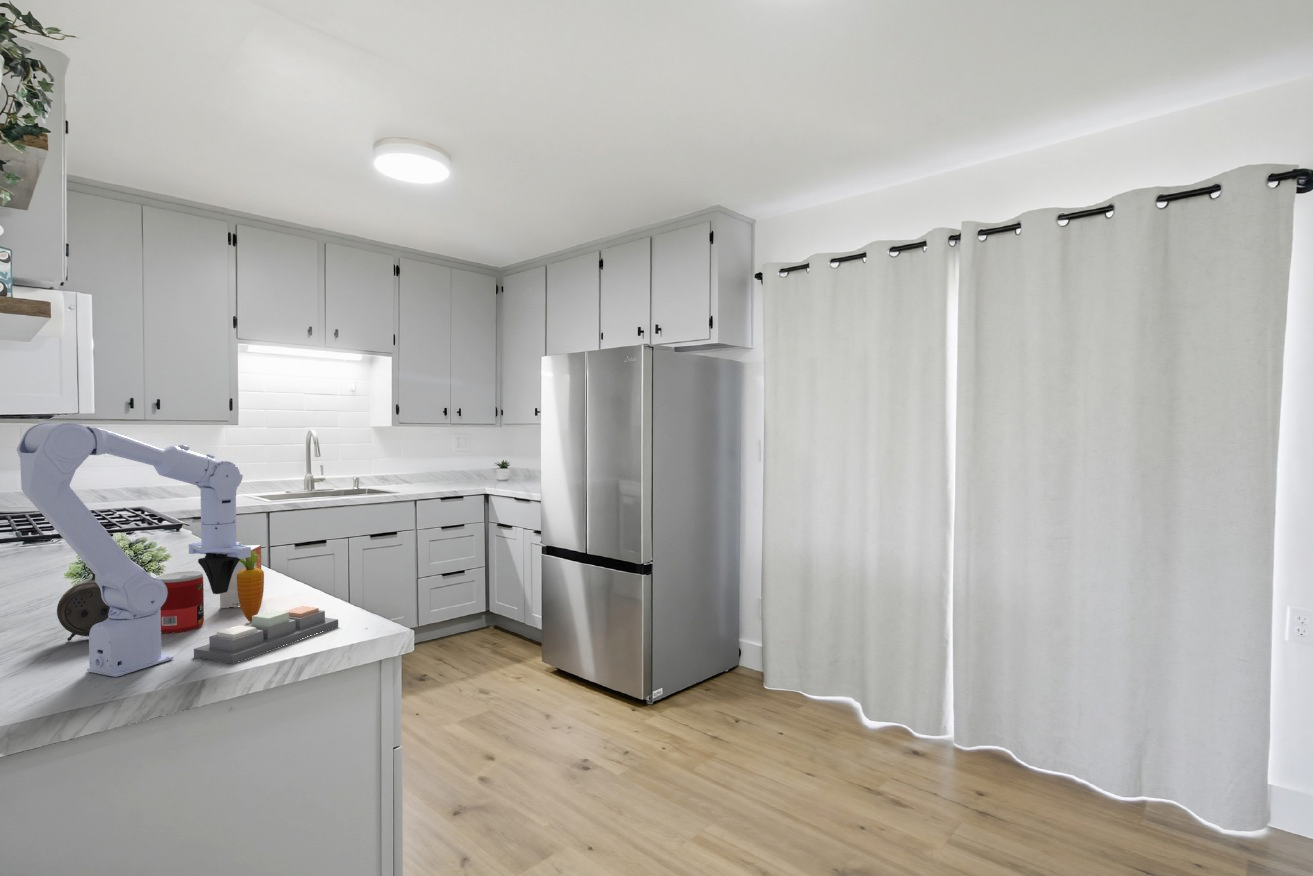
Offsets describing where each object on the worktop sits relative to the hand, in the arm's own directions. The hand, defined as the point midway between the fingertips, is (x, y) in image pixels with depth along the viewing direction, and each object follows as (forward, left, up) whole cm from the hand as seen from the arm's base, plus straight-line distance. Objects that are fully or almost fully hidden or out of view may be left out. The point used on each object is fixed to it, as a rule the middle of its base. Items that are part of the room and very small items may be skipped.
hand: (220, 592), depth 130 cm
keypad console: (+4, -9, -9) cm, 13 cm away
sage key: (+3, -9, -6) cm, 11 cm away
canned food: (+3, +16, -10) cm, 19 cm away
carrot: (+11, +6, -10) cm, 16 cm away
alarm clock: (-8, +24, -10) cm, 27 cm away
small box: (+21, +22, -10) cm, 32 cm away
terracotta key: (+11, -9, -7) cm, 16 cm away
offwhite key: (-4, -9, -7) cm, 12 cm away
